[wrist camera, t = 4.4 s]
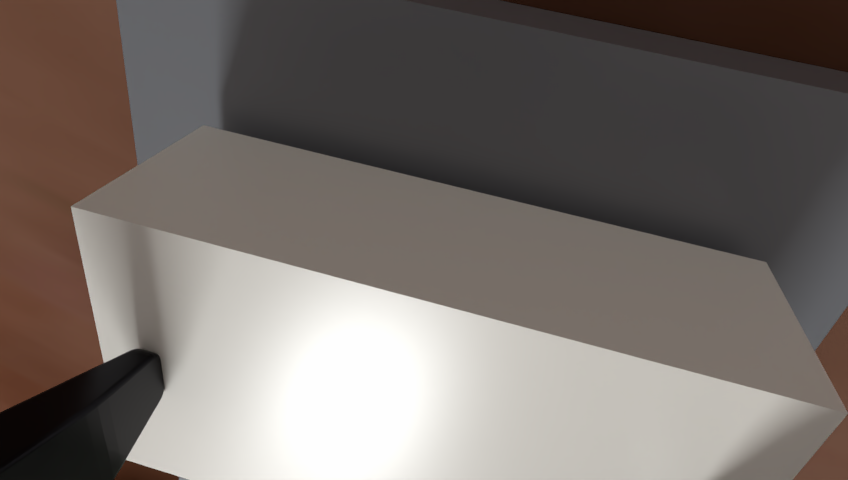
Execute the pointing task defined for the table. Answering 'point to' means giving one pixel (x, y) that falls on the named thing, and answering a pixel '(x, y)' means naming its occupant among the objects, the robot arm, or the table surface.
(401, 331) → the white rectangular block
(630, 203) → the console
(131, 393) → the robot arm
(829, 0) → the table surface
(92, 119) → the table surface
